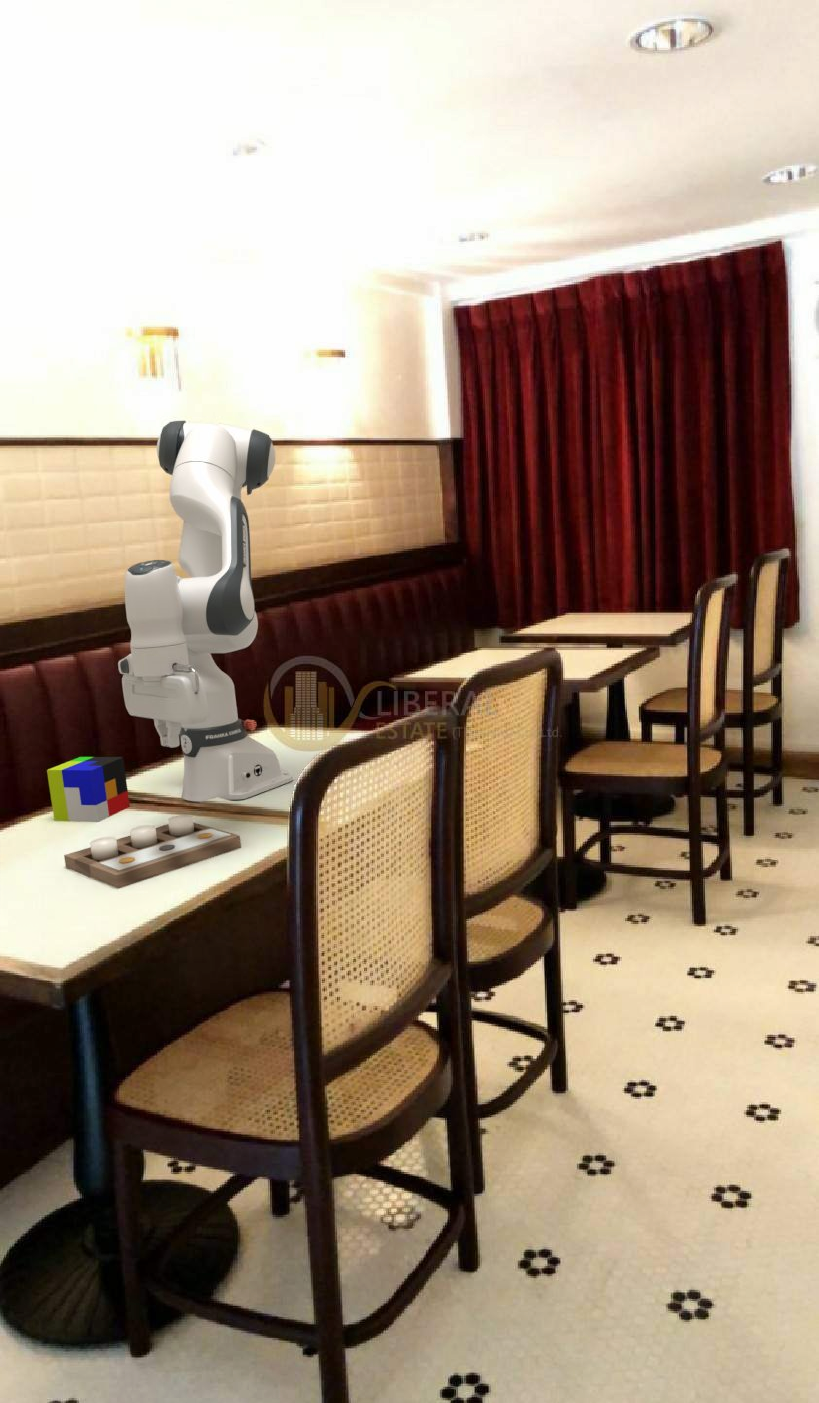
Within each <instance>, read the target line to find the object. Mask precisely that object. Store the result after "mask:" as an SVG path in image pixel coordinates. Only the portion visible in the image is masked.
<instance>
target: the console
mask: <svg viewBox="0 0 819 1403" xmlns="http://www.w3.org/2000/svg"><path fill="white" fill-rule="evenodd" d="M193 824H194V832H193V833H191V834H187V835H184V836H171V835H170V831H169V824H164V825H160V826H157V827H155V828H156V835H157V844H155V845H152V846H149V847H145V848H134V847H132V841H131V834H130V835H127V836H123V837H121V838H120V837H119V838H116V840H117V847H118V856H116V857H113V858H110V859H107V860H93V859H92V853H91V846H90V847H87V848H84V849H80V850H78V851H73V852H69V853H68V854H64V858H63V859H64V863H65V868H66V869H69V870H70V871H74V872H77V873H79V874H81V875H84V876H87V877H89V878H91V879H93V880H96V881H99V882H101V883H104V884H107V885H108V886H111V887H113V888H116V889H121V888H124V887H127V886H130V885H134V884H136V883H139V882H143V881H145V880H148V879H151V878H154V877H157V876H160V875H163V874H166V873H170V872H173V871H175V870H178V869H182V868H185V867H188V866H190V865H193V864H196V863H199V862H203V861H207V860H209V859H211V858H215V857H217V856H221V855H223V854H224V855H225V854H226V853H230V852H232V851H235V850H238V849H241V848H242V842H241V841H242V840H241V835H240V834H235V833H232V832H228V831H225V830H221V829H218V828H214V827H212V826H208V825H203V824H201V823H197V822H194V821H193Z"/></svg>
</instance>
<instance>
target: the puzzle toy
mask: <svg viewBox="0 0 819 1403" xmlns="http://www.w3.org/2000/svg"><path fill="white" fill-rule="evenodd" d="M46 773H47V780H48V787H49V793H50V801H51V806H52V807H51V808H52V812H53V813H52V815H53V820H54V822H74V823H75V822H77V823H78V822H79V823H81V822H84V823H100V822H102V821H105V819H106V820H107V819H108V818H110V817H112V816H114V815H116V814H118V813H120V812H122V811H124V810H126V809H128V808H130V806H131V804H130V799H129V791H128V784H127V776H126V768H125V761H124V757H123V756H79V757H77V758H74V759H71V760H69V761H65V762H64V763H61V764H59V765H56V766H54V767H51V768H48V769H47V770H46Z"/></svg>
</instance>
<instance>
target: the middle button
mask: <svg viewBox="0 0 819 1403" xmlns="http://www.w3.org/2000/svg"><path fill="white" fill-rule="evenodd" d="M156 828H157V827H156V826H155V825H141V826H137V827H134V828H132V829H130V830H129V833H130V835H131V841H132V847H134V848H145V847H149V846H152V845H155V844H157V835H156Z"/></svg>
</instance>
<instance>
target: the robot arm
mask: <svg viewBox="0 0 819 1403" xmlns="http://www.w3.org/2000/svg"><path fill="white" fill-rule="evenodd" d="M157 439H158V440H157V443H156V453H157V458H158V462H159V463H158V464H159V467H160V468H161V469H162V470H163V471H164V472H165V473H166V474H168V475H170V476H171V479H170V484H169V485H170V486H169V500H170V501H169V502H170V504H171V507H172V509H173V511H174V512H175V514H176V515H177V516H178V517H179V518H180V519H181V520H182V521H183V522H182V529H181V537H180V543H179V550H178V557H177V559H178V564H179V566H180V568H181V569H182V570H183V572H184V573H186V575H188V576H190V577H181V576H179V575H177V572H176V569H175V566H174V564H173V562H171V560H166V559H154V560H153V559H152V560H146V561H143V562H142V561H140V562H138V563H135V564H133V565H131V566H130V567H129V568H127V569H126V571H125V572H126V573H125V577H124V578H125V579H124V603H125V613H126V615H125V616H126V620H127V624H128V626H129V628H130V634H131V637H130V645H129V647H130V653H129V654H128V655H126V656H125V657H124V658H121V659H120V660H118V663H117V667H118V672H119V674H121V675H122V678H121V684H122V685H121V686H122V693H123V699H124V700H123V701H124V705H125V708H126V710H127V712H128V714H129V715H130V716H132V717H139V718H143V719H144V718H145V719H152V720H153V722H154V727H155V729H156V732H157V733H158V736H159V737H160V738H159V739H160V745H161V746H162V747H166V748H170V749H172V748H177V747H179V746H181V750H182V751H181V752H182V754H183V782H182V785H183V786H182V792H181V798H182V799H183V800H185V801H190V802H200V803H201V802H207V801H210V800H213V799H216V798H219V799H223V800H228V801H229V800H245V799H246V800H247V799H248V798H251V797H253V796H255V795H258V794H262V793H263V792H266V791H270V790H272V789H274V788H278V787H280V786H282V785H285V784H288V783H290V782H292V781H294V780H293V779H294V778H293V774H291V773H289V772H288V771H285V770H281V767H280V762H279V759H278V757H277V756H278V755H277V754H276V752H274V750H273V749H271V748H270V747H268V746H266V745H264V744H263V743H261V742H259V741H257V740H256V739H254V738H252V737H251V736H249V735H248V731H247V730H250V731H254V730H256V727H257V721H255V720H254V719H246V720H243V719H241V718H239V717H238V716H239V715H238V707H237V700H236V699H237V698H236V689H235V684H234V682H233V680H232V678H231V677H230V675H228V674H227V673H225V672H224V671H222V670H221V669H220V667H219V666H217V664H216V662H215V660H214V659H213V656H212V654H227V653H232V652H236V651H239V650H243V649H246V648H248V647H249V646H250V645H251V644H252V643H254V642H253V641H255V639H256V636H257V633H258V628H259V621H258V615H257V612H256V610H255V607H256V606H255V597H254V591H253V590H254V589H253V585H252V584H253V583H252V563H251V561H252V559H251V536H250V535H251V533H250V532H251V530H250V523H249V522H250V520H249V517H248V516H249V515H248V513H247V512H248V511H247V509H246V507H245V503H244V502H243V501H242V489H243V488H245V487H246V495H247V496H249V495H251V494H252V492H253V491H254V490H256V489H259V488H261V487H262V486H263V485H265V483H267V482H268V480H269V477H270V476H271V475H272V473H273V471H274V468H275V465H276V451H275V448H274V444H273V440H272V438H271V436H270V435H269V434H268V433H266V432H263V431H260V430H257V429H252V430H250V429H247V428H244V427H239V426H236V425H231V424H225V423H213V422H212V423H211V422H193V421H192V422H190V421H189V422H186V420H173V421H169V422H168V423H166V425H164V426H163V427H162V429H161V433H160V434H159V436H158V438H157Z"/></svg>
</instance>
